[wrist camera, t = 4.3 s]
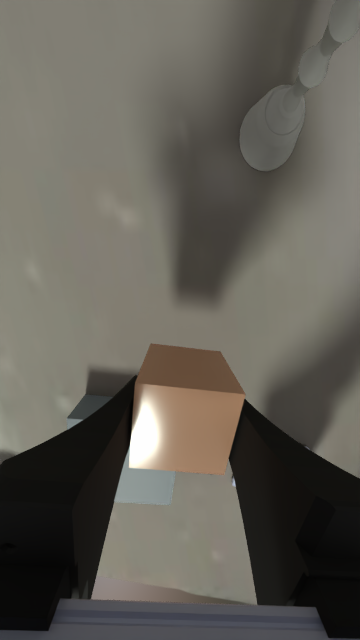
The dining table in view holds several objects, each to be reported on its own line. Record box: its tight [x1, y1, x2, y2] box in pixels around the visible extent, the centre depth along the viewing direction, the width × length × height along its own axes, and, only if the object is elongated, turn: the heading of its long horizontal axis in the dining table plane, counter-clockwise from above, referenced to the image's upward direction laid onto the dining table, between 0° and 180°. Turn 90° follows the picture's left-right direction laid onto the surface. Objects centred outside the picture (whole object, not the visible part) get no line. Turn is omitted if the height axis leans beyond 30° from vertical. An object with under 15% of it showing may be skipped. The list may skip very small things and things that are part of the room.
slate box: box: [67, 394, 176, 505], centre depth 21 cm, size 12×12×4 cm
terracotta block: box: [129, 344, 246, 475], centre depth 10 cm, size 5×5×4 cm
